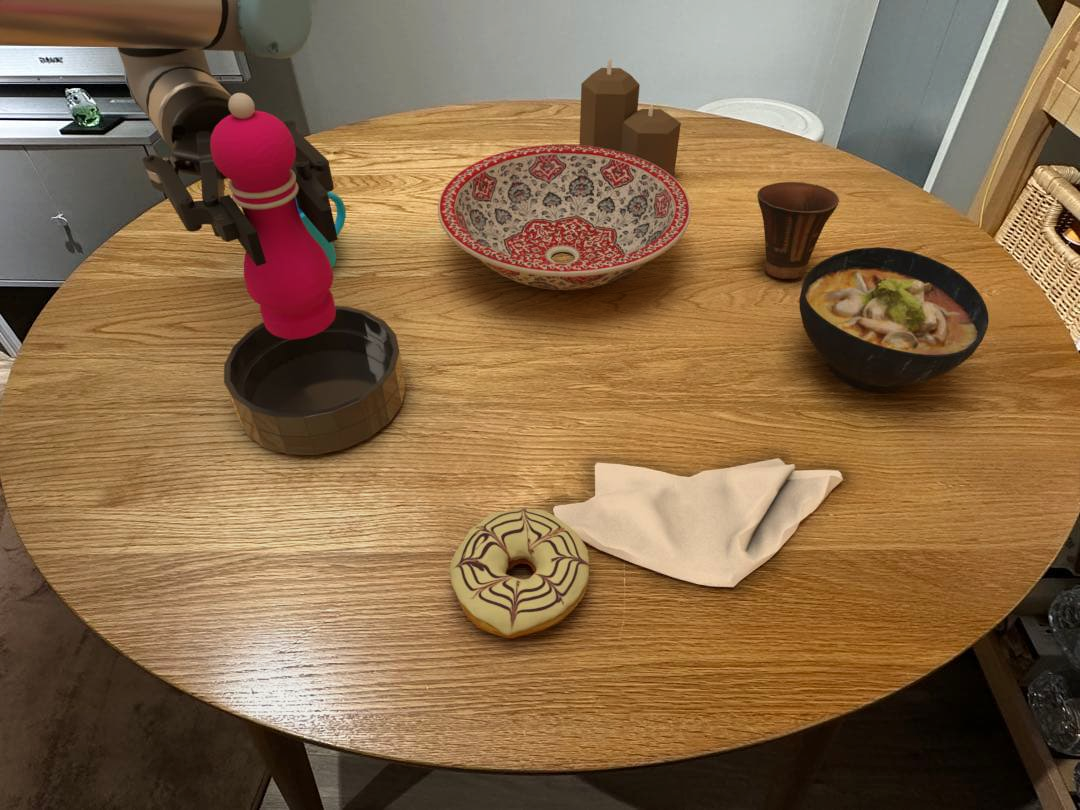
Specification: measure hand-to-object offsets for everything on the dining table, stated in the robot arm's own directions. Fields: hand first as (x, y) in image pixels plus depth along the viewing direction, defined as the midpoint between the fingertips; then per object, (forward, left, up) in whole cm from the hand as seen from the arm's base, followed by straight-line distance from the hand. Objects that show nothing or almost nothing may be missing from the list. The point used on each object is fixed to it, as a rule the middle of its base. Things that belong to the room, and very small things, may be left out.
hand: (294, 237), depth 58 cm
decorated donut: (+5, -23, -22) cm, 32 cm away
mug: (+9, +31, -22) cm, 39 cm away
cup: (+55, -3, -22) cm, 60 cm away
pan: (0, +6, -22) cm, 23 cm away
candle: (+53, +27, -22) cm, 64 cm away
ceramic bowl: (+34, +13, -22) cm, 43 cm away
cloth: (+22, -26, -22) cm, 40 cm away
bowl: (+49, -21, -22) cm, 58 cm away
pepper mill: (0, +5, -11) cm, 12 cm away
